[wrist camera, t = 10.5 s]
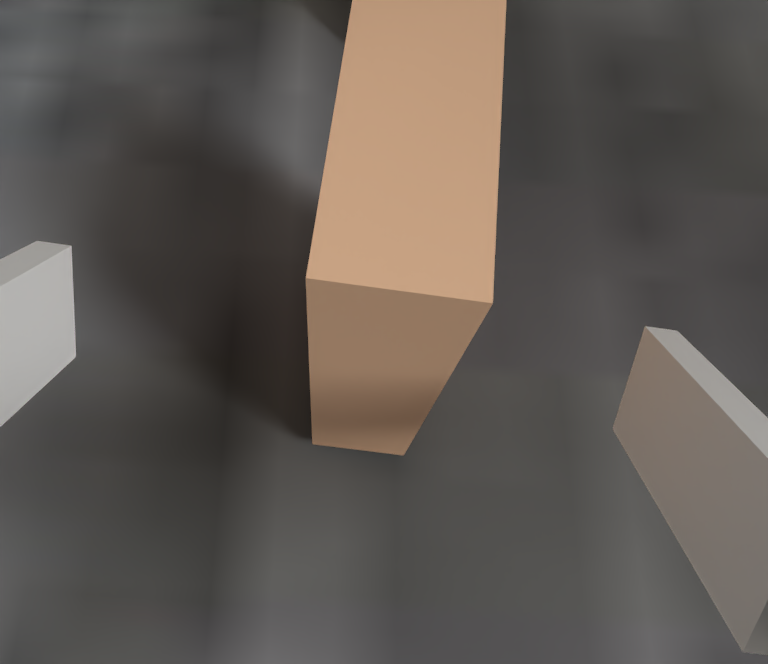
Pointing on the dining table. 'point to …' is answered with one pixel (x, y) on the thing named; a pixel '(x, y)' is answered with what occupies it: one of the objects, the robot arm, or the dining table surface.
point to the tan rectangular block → (404, 216)
